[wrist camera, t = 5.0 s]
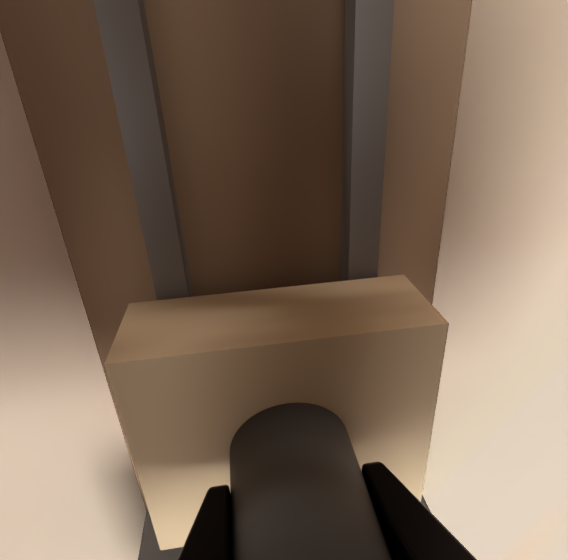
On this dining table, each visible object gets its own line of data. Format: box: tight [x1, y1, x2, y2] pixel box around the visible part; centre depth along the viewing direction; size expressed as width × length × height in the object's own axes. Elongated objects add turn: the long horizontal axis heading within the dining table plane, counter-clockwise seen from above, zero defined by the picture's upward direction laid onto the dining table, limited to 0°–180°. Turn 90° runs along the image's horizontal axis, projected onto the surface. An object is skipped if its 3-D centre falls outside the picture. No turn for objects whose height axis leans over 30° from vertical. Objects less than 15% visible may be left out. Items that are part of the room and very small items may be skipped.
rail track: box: [0, 0, 472, 510], centre depth 10 cm, size 10×22×4 cm, turn 3°
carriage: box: [104, 275, 449, 560], centre depth 9 cm, size 7×6×6 cm
